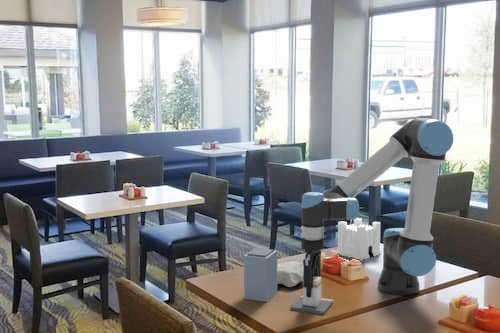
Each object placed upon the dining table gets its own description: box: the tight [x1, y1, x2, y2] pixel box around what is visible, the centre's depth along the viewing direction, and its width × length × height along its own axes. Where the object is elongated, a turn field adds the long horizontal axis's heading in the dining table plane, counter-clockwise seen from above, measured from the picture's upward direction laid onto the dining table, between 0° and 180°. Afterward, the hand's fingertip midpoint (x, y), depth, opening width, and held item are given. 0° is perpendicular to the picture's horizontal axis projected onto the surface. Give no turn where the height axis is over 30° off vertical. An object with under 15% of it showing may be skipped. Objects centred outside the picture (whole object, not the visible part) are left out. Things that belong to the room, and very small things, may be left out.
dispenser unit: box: [243, 247, 278, 303], centre depth 212 cm, size 10×10×17 cm
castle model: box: [337, 217, 382, 261], centre depth 263 cm, size 14×14×15 cm
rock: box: [277, 260, 304, 288], centre depth 227 cm, size 19×7×25 cm
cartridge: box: [302, 276, 323, 307], centre depth 201 cm, size 5×5×9 cm
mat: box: [289, 294, 335, 315], centre depth 202 cm, size 12×12×1 cm
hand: (312, 302), depth 202 cm, fingers closed on cartridge, 5 cm apart
